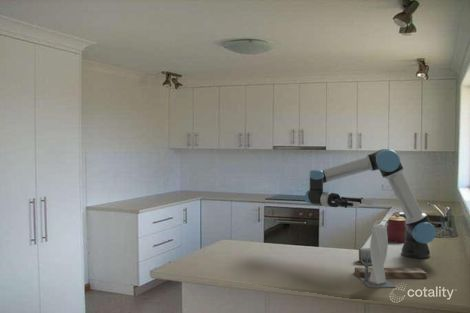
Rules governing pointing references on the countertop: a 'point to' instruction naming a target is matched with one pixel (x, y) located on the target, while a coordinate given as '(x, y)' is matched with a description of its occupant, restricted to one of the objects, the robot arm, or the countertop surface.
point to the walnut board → (395, 272)
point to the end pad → (378, 285)
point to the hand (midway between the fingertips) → (366, 203)
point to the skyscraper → (377, 255)
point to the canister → (396, 228)
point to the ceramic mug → (365, 255)
